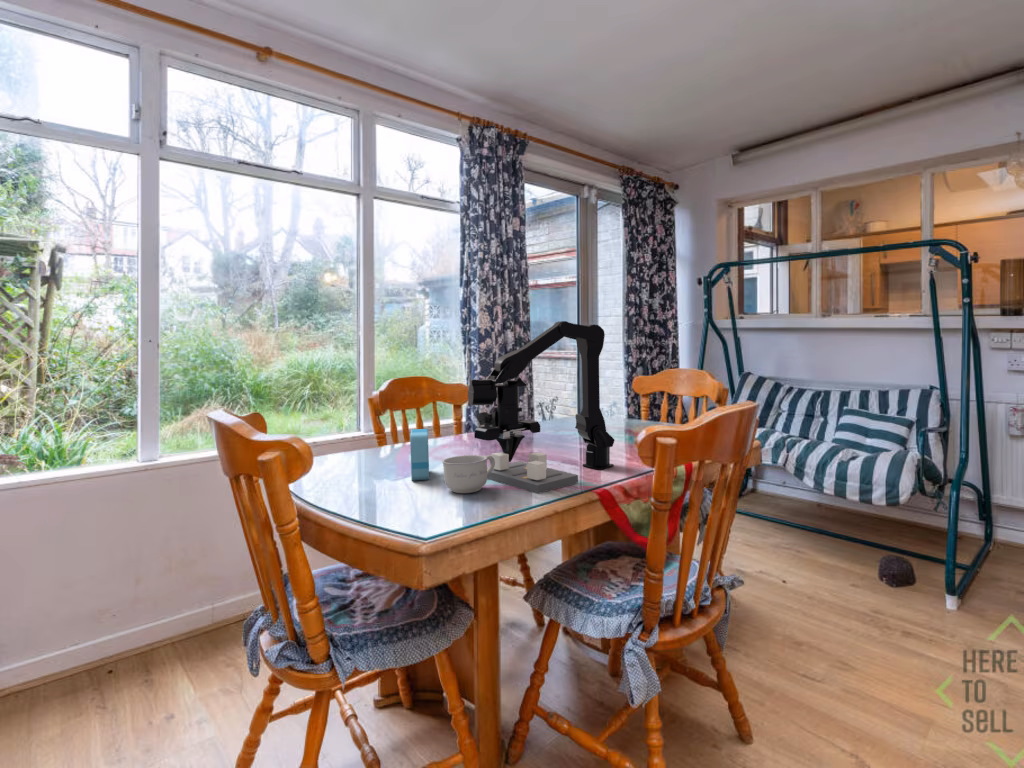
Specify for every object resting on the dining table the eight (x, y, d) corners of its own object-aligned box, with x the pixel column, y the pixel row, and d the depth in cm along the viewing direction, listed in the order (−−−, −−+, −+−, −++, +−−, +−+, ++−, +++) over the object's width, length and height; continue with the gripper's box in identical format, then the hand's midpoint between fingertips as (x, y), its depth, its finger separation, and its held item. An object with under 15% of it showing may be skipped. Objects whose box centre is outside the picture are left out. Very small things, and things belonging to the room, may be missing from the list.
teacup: (453, 499, 133) (452, 465, 133) (436, 488, 143) (436, 456, 142) (507, 490, 140) (506, 458, 139) (487, 480, 149) (487, 450, 149)
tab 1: (500, 466, 155) (499, 452, 155) (508, 468, 152) (508, 454, 152) (491, 468, 153) (491, 453, 153) (500, 470, 150) (499, 455, 150)
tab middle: (537, 466, 154) (537, 452, 154) (546, 468, 151) (546, 454, 151) (528, 468, 152) (528, 453, 152) (538, 470, 150) (538, 456, 149)
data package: (429, 481, 150) (427, 435, 149) (411, 482, 149) (410, 436, 148) (429, 470, 162) (427, 427, 161) (412, 471, 161) (411, 428, 160)
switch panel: (519, 468, 163) (519, 460, 162) (577, 482, 146) (577, 474, 146) (480, 476, 154) (480, 469, 153) (537, 493, 137) (537, 484, 137)
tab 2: (535, 475, 144) (535, 460, 144) (546, 478, 142) (545, 462, 141) (527, 477, 142) (526, 462, 142) (537, 480, 140) (536, 464, 139)
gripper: (514, 398, 165) (515, 452, 167) (461, 404, 153) (462, 462, 155) (541, 401, 157) (542, 458, 158) (487, 408, 145) (488, 469, 146)
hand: (508, 461), depth 155 cm, fingers closed
